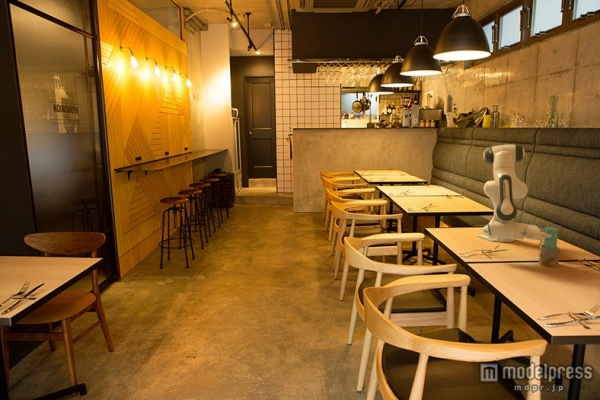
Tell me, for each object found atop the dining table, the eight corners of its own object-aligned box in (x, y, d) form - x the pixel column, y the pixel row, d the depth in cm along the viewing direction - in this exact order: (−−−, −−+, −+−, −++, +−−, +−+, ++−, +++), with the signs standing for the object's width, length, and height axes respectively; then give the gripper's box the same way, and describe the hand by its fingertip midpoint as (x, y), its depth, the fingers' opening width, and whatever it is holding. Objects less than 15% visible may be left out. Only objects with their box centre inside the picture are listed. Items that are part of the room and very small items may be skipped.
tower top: (543, 257, 223) (544, 248, 222) (540, 253, 229) (541, 244, 228) (558, 258, 220) (559, 249, 220) (555, 254, 227) (556, 245, 226)
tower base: (540, 266, 224) (541, 257, 223) (538, 261, 231) (539, 252, 230) (557, 267, 221) (558, 258, 220) (555, 263, 228) (556, 254, 227)
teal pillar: (545, 247, 223) (547, 229, 221) (543, 245, 227) (545, 227, 225) (556, 248, 221) (558, 230, 219) (554, 246, 225) (556, 227, 224)
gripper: (523, 229, 218) (553, 232, 213) (518, 222, 237) (546, 223, 232) (522, 241, 219) (552, 244, 214) (518, 232, 238) (545, 234, 233)
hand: (549, 233), depth 223 cm, fingers open, 8 cm apart
